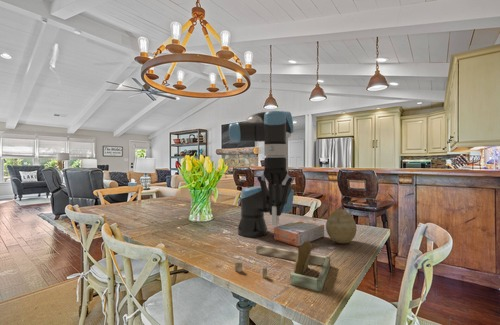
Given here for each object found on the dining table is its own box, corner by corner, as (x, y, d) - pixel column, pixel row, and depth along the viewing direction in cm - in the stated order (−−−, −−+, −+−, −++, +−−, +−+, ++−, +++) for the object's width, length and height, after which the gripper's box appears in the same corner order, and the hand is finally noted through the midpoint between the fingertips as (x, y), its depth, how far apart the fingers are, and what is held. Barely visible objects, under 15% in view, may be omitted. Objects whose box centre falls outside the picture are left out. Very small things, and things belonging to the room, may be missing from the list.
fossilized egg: (356, 249, 97) (356, 213, 97) (324, 245, 102) (324, 210, 102) (356, 240, 109) (356, 207, 109) (327, 236, 114) (327, 205, 114)
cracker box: (301, 231, 124) (273, 239, 110) (301, 219, 124) (273, 226, 110) (324, 237, 113) (297, 247, 100) (324, 224, 113) (297, 233, 100)
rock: (304, 277, 70) (324, 263, 76) (289, 250, 74) (309, 239, 80) (285, 285, 78) (305, 272, 84) (272, 260, 81) (292, 249, 87)
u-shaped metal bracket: (235, 271, 79) (235, 262, 79) (257, 252, 95) (257, 244, 95) (321, 291, 67) (321, 281, 67) (330, 265, 83) (330, 257, 83)
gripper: (253, 157, 81) (254, 224, 82) (290, 157, 75) (290, 230, 76) (262, 156, 88) (262, 219, 89) (296, 156, 82) (296, 223, 83)
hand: (275, 224), depth 83 cm, fingers closed
